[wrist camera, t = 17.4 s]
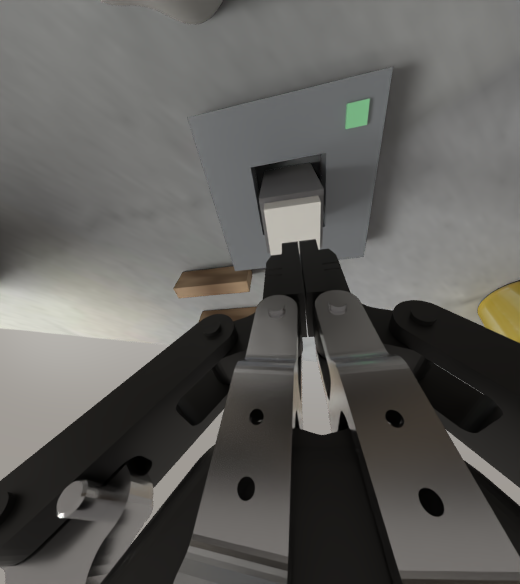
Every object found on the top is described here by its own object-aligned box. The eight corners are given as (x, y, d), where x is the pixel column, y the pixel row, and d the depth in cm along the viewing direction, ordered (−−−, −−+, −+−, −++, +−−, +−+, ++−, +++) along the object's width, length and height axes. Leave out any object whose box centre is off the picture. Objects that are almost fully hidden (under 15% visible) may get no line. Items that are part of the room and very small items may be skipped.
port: (238, 257, 23) (234, 272, 21) (198, 116, 15) (185, 117, 13) (356, 243, 21) (364, 258, 19) (377, 72, 13) (395, 65, 11)
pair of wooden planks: (206, 318, 30) (200, 335, 28) (182, 272, 25) (173, 288, 23) (262, 313, 29) (260, 331, 26) (249, 264, 24) (246, 281, 21)
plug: (270, 213, 20) (266, 261, 14) (264, 170, 17) (257, 205, 11) (310, 208, 19) (324, 255, 13) (309, 162, 17) (326, 194, 11)
